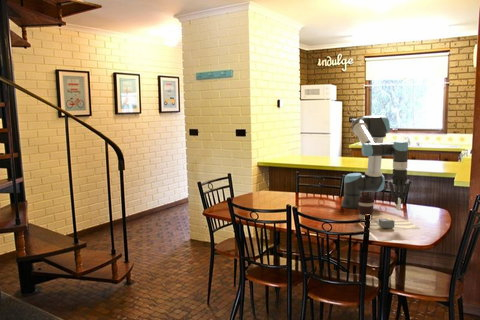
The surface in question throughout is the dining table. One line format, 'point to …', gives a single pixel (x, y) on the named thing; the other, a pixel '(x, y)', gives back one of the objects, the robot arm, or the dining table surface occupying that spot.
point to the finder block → (386, 223)
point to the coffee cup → (365, 206)
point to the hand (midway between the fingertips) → (398, 209)
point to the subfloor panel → (397, 225)
